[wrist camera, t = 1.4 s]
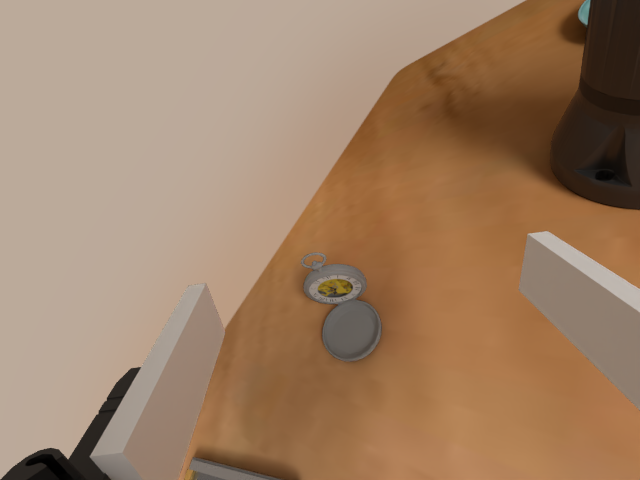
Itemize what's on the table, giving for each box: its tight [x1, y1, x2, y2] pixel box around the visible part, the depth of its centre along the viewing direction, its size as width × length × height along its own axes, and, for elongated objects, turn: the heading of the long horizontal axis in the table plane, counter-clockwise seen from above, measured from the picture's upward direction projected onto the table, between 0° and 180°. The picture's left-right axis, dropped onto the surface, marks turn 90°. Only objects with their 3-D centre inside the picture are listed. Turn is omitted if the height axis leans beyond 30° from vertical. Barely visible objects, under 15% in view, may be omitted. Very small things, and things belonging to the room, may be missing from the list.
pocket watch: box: [301, 253, 382, 362], centre depth 31 cm, size 8×8×10 cm
